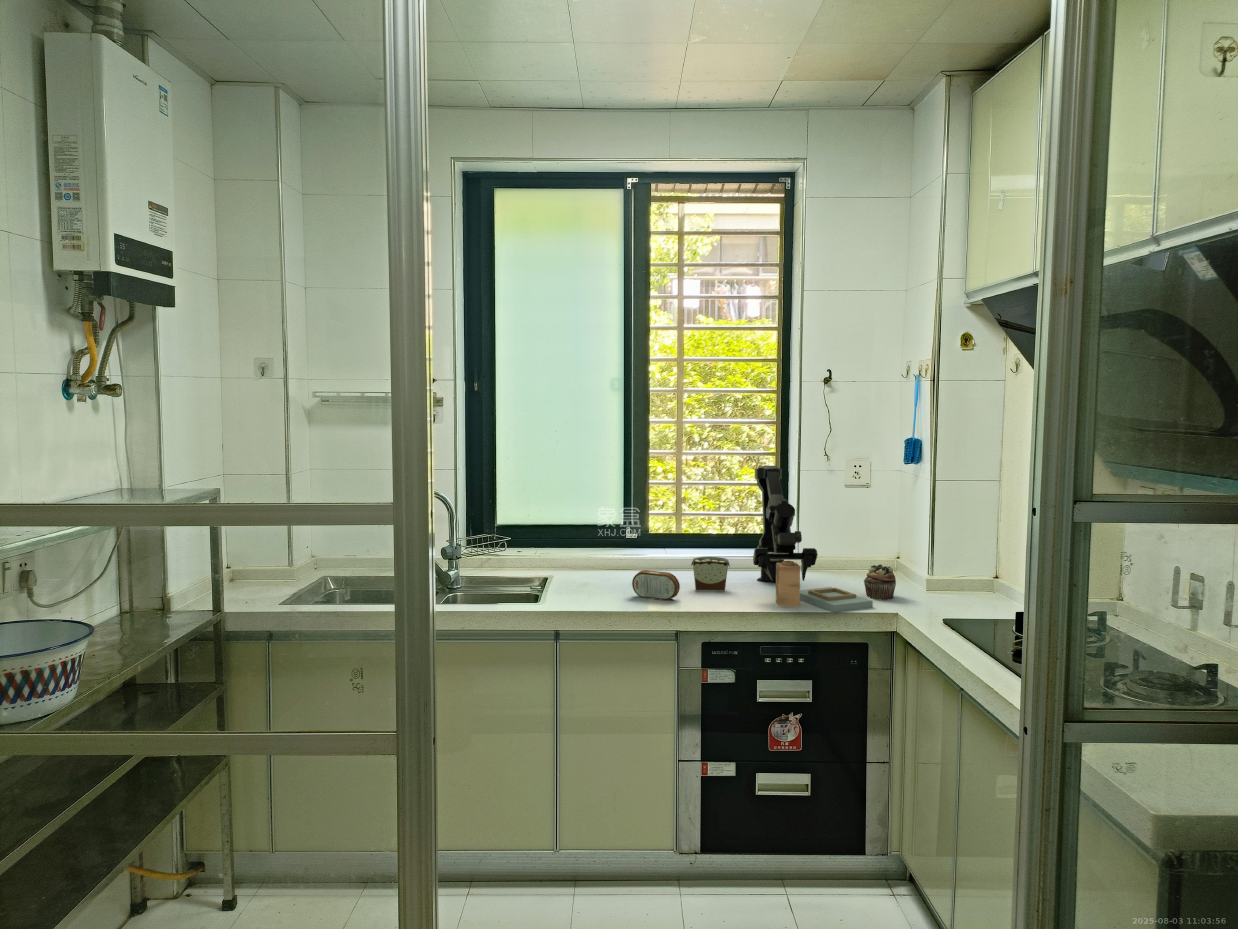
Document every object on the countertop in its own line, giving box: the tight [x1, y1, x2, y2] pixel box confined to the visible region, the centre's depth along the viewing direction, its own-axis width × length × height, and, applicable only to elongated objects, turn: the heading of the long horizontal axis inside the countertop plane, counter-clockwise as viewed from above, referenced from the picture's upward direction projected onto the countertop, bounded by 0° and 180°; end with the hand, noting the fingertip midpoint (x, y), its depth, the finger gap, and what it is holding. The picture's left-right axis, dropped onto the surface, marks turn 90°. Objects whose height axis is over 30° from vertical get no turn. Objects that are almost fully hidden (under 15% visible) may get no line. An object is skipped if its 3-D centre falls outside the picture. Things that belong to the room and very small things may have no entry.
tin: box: [631, 569, 681, 601], centre depth 254 cm, size 15×3×8 cm, turn 65°
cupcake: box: [863, 563, 897, 601], centre depth 257 cm, size 10×10×10 cm
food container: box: [690, 556, 731, 592], centre depth 268 cm, size 12×6×10 cm, turn 84°
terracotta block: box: [775, 560, 801, 608], centre depth 247 cm, size 6×6×13 cm
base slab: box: [800, 586, 874, 613], centre depth 250 cm, size 20×14×3 cm
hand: (788, 580), depth 246 cm, fingers open, 9 cm apart
